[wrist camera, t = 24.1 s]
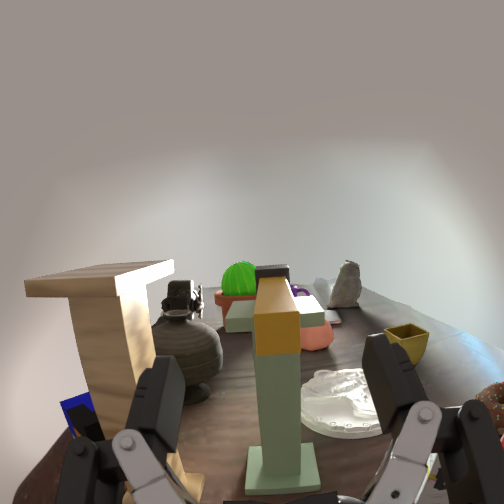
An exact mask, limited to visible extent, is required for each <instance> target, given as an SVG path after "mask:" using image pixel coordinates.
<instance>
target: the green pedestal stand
mask: <svg viewBox="0 0 504 504" xmlns="http://www.w3.org/2000/svg"><path fill="white" fill-rule="evenodd" d="M294 299H295V301H296V304H297V306H298V309H299V311H300V328H306V327H317V326H325V312H324V311H323V309H322V308H321V306H320V305H319V304H318V302H317V301H316V300H315V298H314V297H313V296H303V297H294ZM255 303H256V300H248V301H233V303H232V305H231V307H230V309H229V311H228V313H227V315H226V317H225V329H226V333H229V332H250V331H252V342H253V354H254V366H255V378H256V390H257V402H258V414H259V425H260V437H261V446H252V447H249V451H248V461H247V471H246V482H245V494H246V495H277V494H292V493H303V492H312V491H320V487H321V483H320V478H319V473H318V468H317V463H316V458H315V453H314V448H313V443H302V444H301V376H300V353H293V354H280V355H265V356H257V354H256V341H255V328H254V309H255Z"/></svg>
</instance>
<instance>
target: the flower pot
mask: <svg viewBox="0 0 504 504" xmlns="http://www.w3.org/2000/svg"><path fill="white" fill-rule="evenodd" d="M384 333H385V334H386V335H387V337H388V339H389V341H390V344H393V343H398V344H399V345H400V346H401V347H403V348H404V349H405V350H406V352H407V354H408V356H409V358H410V362H412V365H416V364H417V363H418V362H419V361H420V359H421V358H422V356H423V354H424V352H425V349H426V345H427V341H428V337H429V332H428V331H426V330H424V329H422V328H420V327H418V326H416V325H414V324H411V323H410V324H405V325H401V326H396V327H391V328H387V329H384Z"/></svg>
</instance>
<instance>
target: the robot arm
mask: <svg viewBox="0 0 504 504" xmlns="http://www.w3.org/2000/svg"><path fill="white" fill-rule="evenodd" d="M362 368H363V373H364V376H365V379H366V382H367V385H368V388H369V391H370V394H371V397H372V400H373V404H374V407H375V410H376V413H377V417H378V420H379V423H380V427H381V430H382V434H387V433H391V435H392V441H391V443H390V445H389V447H388V449H387V452H386V454H385V456H384V458H383V460H382V462H381V464H380V466H379V468H378V470H377V471H376V473H375V475H374V477H373V479H372V480H371V482H370V483H369V485H368V486H367V488H366V490H365V491H364V493H363V495H362V497H361V498H360V500H358V499H356V498H352V497H348V496H339V495H338V494H337V491H335V492H329V493H324V494H317V495H310V496H307V497H304V498H301V499H298V500H295V501H292V502H289V503H286V504H413V503H414V501H415V499H416V497H417V495H418V492H419V490H420V488H421V486H422V483H423V481H424V479H425V476H426V473H427V470H428V466H427V461H428V459H429V456H430V453H437V454H438V457H439V461H440V465H441V469H442V473H443V477H444V481H445V486H446V490H447V495H448V500H449V504H504V449H503V446H502V443H501V441H500V438H499V435H498V433H497V430H496V427H495V425H494V422H493V420H492V417H491V415H490V412H489V410H488V408H487V406H486V405H485V404H484V403H483V402H482V401H480V400H475V399H474V400H469V401H467V402H466V403H465V404H464V405H463V406H462V407H461V408H441V407H438V406H437V405H436V404H435V403H433V402H431V401H429V399H428V398H427V396H426V393H425V391H424V389H423V387H422V384H421V382H420V380H419V378H418V375H417V373H416V371H415V370H414V367H413V365H412V362H410V358H409V356H408V354H407V352H406V350H405V349H404V348H403V347H401V346H400V345H399V344H398V343H393V344H390V341H389V339H388V337H387V335H386V334H385V333H380V334H375V335H370V336H367V338H366V342H365V347H364V352H363V357H362ZM184 394H185V379H184V376H183V374H182V372H181V369H180V367H179V365H178V363H177V361H176V358H175V357H174V356H173V355H171V356H156V357H155V359H154V362H153V366H152V368H145V370H144V371H143V372H142V374H141V375H140V376H139V379H138V382H137V386H136V389H135V393H134V397H133V400H132V403H131V407H130V411H129V414H128V418H127V422H126V426H125V428H124V430H122V431H120V432H118V433H117V434H116V435H115V437H114V438H113V439H110V440H104V441H98V442H92V441H91V440H90V439H89V438H87V437H84V436H80V437H76V438H74V439H73V440H72V441H71V442H70V443H69V445H68V447H67V451H66V455H65V459H64V463H63V468H62V472H61V476H60V481H59V486H58V491H57V496H56V501H55V504H122V500H123V491H124V483H125V481H129V483H130V485H131V487H132V489H133V491H132V492H131V494H132V497H133V499H134V501H135V502H136V504H199V503H198V502H197V501H196V500H195V499H194V498H193V497H192V495H191V494H190V493H189V492H188V491H187V489H186V488H185V487H184V485H183V484H182V483H181V481H180V480H179V478H178V477H177V476H176V474H175V473H174V471H173V470H172V468H171V467H170V465H169V464H168V462H167V461H166V460H167V453H176V449H177V441H178V434H179V427H180V420H181V414H182V407H183V401H184ZM223 504H268V503H262V502H256V501H223Z"/></svg>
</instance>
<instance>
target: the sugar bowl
mask: <svg viewBox="0 0 504 504" xmlns="http://www.w3.org/2000/svg"><path fill="white" fill-rule="evenodd" d="M300 332H301V348H302V349H306V350H308V351H315V350H317V349H322V348H325V347H327V346H329V345H330V344H331V342H332V341H333V339H334V333H333V330H332V327H331V325H330V324H329V322H328V321H327V319H326V318H325V326H317V327H306V328H300Z"/></svg>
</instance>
